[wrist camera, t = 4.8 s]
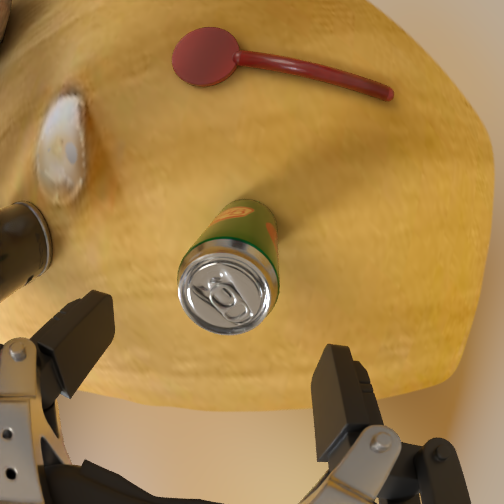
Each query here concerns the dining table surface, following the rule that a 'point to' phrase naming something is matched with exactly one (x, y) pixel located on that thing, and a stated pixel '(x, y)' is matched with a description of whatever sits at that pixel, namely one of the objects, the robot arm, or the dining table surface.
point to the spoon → (254, 64)
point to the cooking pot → (4, 16)
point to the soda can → (232, 270)
